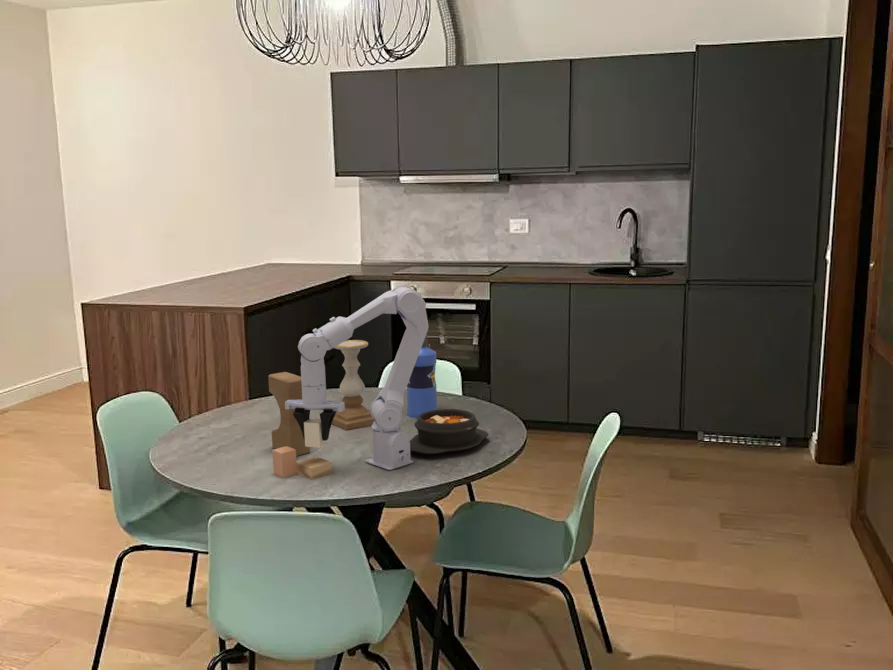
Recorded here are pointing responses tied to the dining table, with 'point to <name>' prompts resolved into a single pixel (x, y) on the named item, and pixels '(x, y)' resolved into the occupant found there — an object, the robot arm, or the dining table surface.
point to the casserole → (446, 432)
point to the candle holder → (352, 389)
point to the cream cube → (313, 433)
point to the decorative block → (287, 412)
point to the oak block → (314, 467)
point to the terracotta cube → (284, 461)
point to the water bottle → (422, 383)
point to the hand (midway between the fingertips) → (316, 438)
